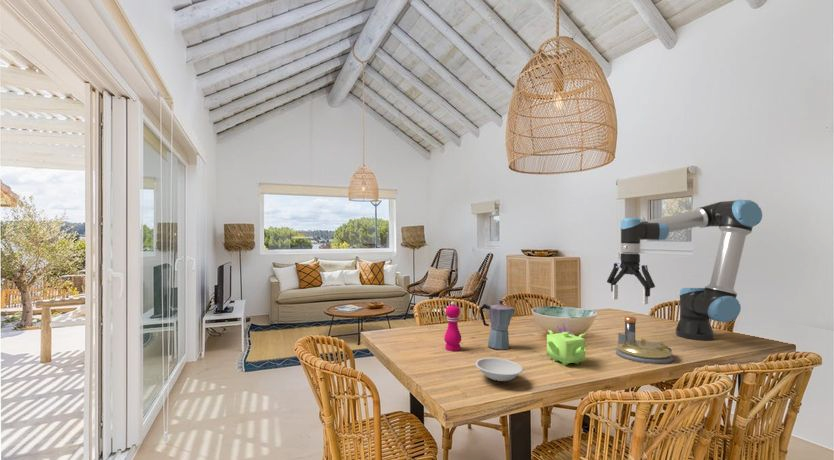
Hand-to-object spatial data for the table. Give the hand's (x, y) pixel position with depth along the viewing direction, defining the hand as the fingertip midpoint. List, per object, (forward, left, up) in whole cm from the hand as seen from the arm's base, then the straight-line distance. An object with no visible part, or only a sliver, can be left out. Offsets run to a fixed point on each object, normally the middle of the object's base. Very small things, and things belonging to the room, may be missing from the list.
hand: (629, 301), depth 180 cm
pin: (0, 0, -19) cm, 19 cm away
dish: (+79, +1, -19) cm, 81 cm away
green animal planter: (+43, 0, -19) cm, 47 cm away
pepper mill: (+70, -36, -19) cm, 81 cm away
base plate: (+11, +12, -19) cm, 25 cm away
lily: (+26, -14, -19) cm, 35 cm away
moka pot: (+52, -28, -19) cm, 62 cm away
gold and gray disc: (+11, +12, -17) cm, 24 cm away
